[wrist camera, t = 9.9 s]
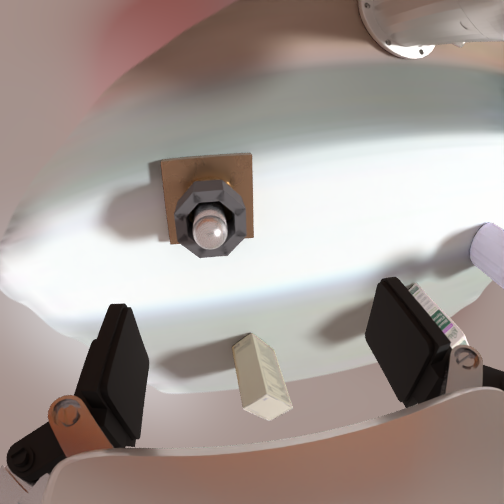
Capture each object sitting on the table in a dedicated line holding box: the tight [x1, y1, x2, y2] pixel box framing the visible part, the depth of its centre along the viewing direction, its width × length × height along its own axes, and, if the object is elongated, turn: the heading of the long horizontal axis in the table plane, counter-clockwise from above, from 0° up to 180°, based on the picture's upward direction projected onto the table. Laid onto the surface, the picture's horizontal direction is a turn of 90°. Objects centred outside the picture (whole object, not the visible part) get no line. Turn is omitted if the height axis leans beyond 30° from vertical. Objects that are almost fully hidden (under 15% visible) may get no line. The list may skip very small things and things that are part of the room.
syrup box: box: [408, 283, 469, 349], centre depth 42 cm, size 6×6×14 cm
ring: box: [174, 179, 247, 258], centre depth 29 cm, size 6×6×4 cm
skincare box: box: [232, 333, 293, 421], centre depth 42 cm, size 6×4×12 cm
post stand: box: [161, 153, 254, 249], centre depth 30 cm, size 10×10×12 cm
